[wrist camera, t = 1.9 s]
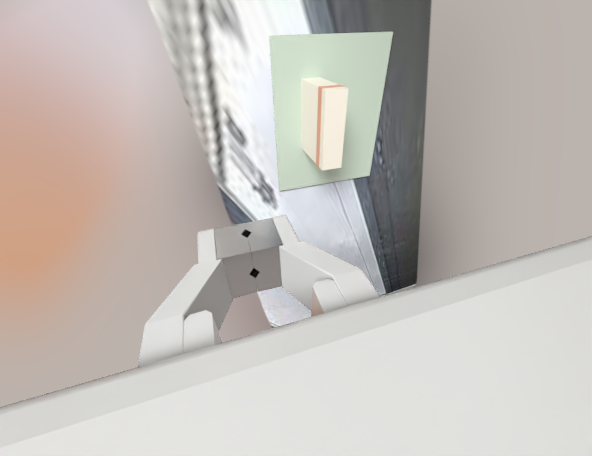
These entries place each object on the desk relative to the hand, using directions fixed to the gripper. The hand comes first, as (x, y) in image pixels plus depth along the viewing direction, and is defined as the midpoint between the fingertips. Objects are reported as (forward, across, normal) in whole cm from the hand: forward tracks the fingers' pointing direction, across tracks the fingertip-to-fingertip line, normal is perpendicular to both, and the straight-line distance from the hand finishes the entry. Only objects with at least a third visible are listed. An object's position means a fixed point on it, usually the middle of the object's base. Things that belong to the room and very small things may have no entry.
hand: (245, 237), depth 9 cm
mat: (+29, -16, +5) cm, 34 cm away
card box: (+29, -13, +4) cm, 32 cm away
